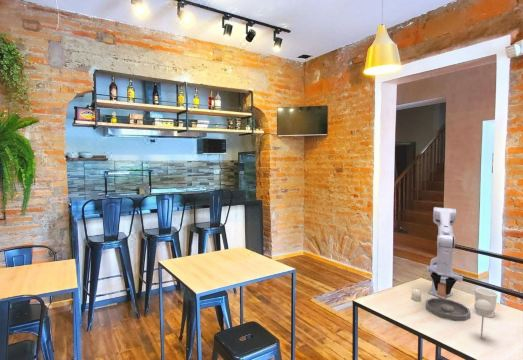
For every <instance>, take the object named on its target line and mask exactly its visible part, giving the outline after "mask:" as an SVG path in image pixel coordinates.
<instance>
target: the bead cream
mask: <svg viewBox="0 0 523 360" xmlns="http://www.w3.org/2000/svg"><path fill="white" fill-rule="evenodd" d="M411 300H412V301H414V302H421V300H422V289H421V288H418V287H412V288H411Z"/></svg>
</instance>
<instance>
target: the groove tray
mask: <svg viewBox="0 0 523 360" xmlns="http://www.w3.org/2000/svg"><path fill="white" fill-rule="evenodd" d="M425 309H426V310H427V311H428V312H430V313H431V315H435V316H436V317H439V318H441V319H444V320H449V321H454V322H460V321H461V322H463V321H467V320H469V319H471V310H470V308H468V307H467V306H465V305H464V304H463V303H460V302H458V301H454V300H452V299H447V298H444V299H443V298H440V297H431V298H429V299H426V300H425Z"/></svg>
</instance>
